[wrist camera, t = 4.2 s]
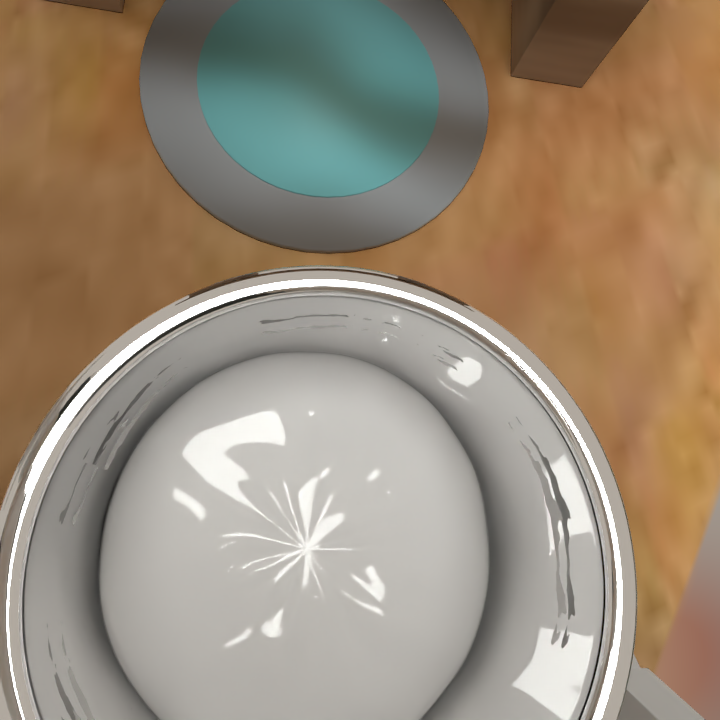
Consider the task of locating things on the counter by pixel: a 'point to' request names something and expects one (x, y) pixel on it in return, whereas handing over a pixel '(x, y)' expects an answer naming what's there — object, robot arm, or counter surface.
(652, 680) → the robot arm
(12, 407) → the counter surface
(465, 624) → the beer glass
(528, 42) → the shelf bridge
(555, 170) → the counter surface
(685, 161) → the counter surface
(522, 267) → the counter surface
